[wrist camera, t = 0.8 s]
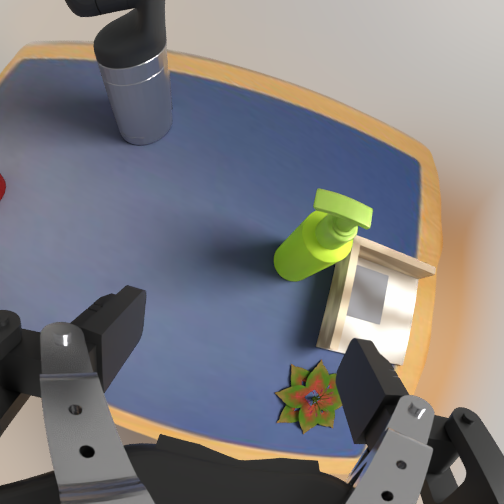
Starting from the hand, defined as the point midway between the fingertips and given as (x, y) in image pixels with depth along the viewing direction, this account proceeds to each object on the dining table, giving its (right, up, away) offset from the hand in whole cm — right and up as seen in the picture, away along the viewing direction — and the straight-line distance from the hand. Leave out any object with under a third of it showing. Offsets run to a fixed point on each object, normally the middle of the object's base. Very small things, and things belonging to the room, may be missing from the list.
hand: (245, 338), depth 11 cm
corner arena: (+19, -5, +33) cm, 39 cm away
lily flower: (+9, -18, +29) cm, 35 cm away
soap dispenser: (+6, +2, +33) cm, 33 cm away
